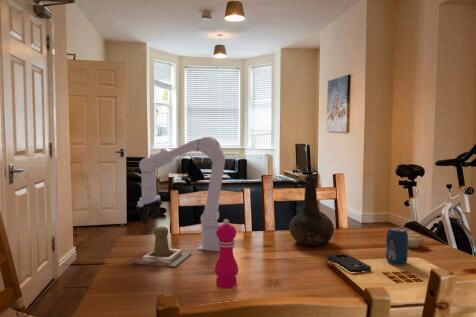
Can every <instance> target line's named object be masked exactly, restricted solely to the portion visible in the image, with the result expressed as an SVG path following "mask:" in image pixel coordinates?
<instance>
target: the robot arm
mask: <svg viewBox="0 0 476 317" xmlns="http://www.w3.org/2000/svg"><path fill="white" fill-rule="evenodd" d="M192 151H193V152H199V151H200V152H201V153H202V154H204V155H205V156H207V157H208V159H209V160H210V161H211V162H212V166H211V171H210V179H209V183H208V190H207V195H206V196H207V197H206V202H205V206H204V209H203V213H202V214H201V215H200V222H201V225H200V230H201V232H200V233H201V234H200V236H201V237H200V240H201V242H200V243H201V244H200V246H199V247H197V250H201V251H212V252H220V246H219V245H218V240H219V238H218V237H217V235H216V231H217V228H218V227H219V226H220V225H221V224H220V222H218V220H219V218H220V210H219V207H220V205H219V202H220V201H219V200H220V196H221V195H220V194H221V189H222V183H223V178H224V171H225V166H226V156H225V154H224V151H223V149H222V147H221V145H220V142H218V140H217V139H216V138H215V137H213V136H204V137H202V138H198V139H193V140H190V141H189V142H187V143H184V144H182V145H180V146H177V147H176V148H173V149H172V150H170V149H169V148H162V149H160V151H159V152H157V153H154V154H149V156H148V157H144V158H142V159H141V160H140V162H139V163H138V166H139V169H140V171H141V197H139V201H137V204H136V205H135V209H136V210H137V212H138V214H139V217H140V221H141V224H145V225H146V224H148V223H149V215H150V216H151V219H152V220H157V219H158V217H159V211H160V209H161V206H162V204H163V201H162V200H161V195H158V194H157V193H158V192H157V169H160V168H162V167H164V166H167V165H170V164H172V163H173V162H174V161H175V160H174V159H175V158H177V157H179V156H182V155H184V154H186V153H190V152H192Z"/></svg>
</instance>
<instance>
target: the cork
mask: <svg viewBox="0 0 476 317" xmlns="http://www.w3.org/2000/svg"><path fill="white" fill-rule="evenodd" d="M169 233H170V232H169V229H168V227H166V226H158V227H155V228H154V230H153V234H154V237H155V238H154V240H155V241H154V248H153V250H154V255H153V256H157V257H167V258H168V257H170V252H169V249H170V247H169V240H168V235H169Z"/></svg>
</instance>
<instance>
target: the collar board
mask: <svg viewBox="0 0 476 317" xmlns="http://www.w3.org/2000/svg"><path fill="white" fill-rule="evenodd" d="M169 252H170V257H168V258H167V257H157V256H153V255H154V249H152V250H150V251H148V252H147V253H145V254H143V255H142V256H141V257H139V258H137V259H135V260H134V261H133V264H134V265H135V264H137V265H145V266H152V267H164V268H174V269H176V268H177V267H178V266H179V265H180V264H181V263H183V262H184V261H185V260H186V259H188V258H189V257H190V256H191V255H192V253H191V252H183V249H177V248H169Z"/></svg>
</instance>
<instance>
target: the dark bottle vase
mask: <svg viewBox="0 0 476 317" xmlns="http://www.w3.org/2000/svg"><path fill="white" fill-rule="evenodd" d="M302 182H303V183H304V198H303V199H304V200H303V206H302V210H301V212H300V213H298V214H296V215H294V216H293V217H292V218H291V220H290V221H289V226H288V227H289V228H288V229H289V233H290V236H291V237H292V238H293V239H294V240H295V242H297V243H298V244H300V245H303V246H307V247H319V246H323V245H325V244H327V243H328V242H330V240H331V239H332V237H333V235H334V231H335V227H334V223H333V222H332V220H331V219H330V217H328V216H327V215H326V214H325V213H323V212H321V211H320V208H319V204H318V195H317V182H318V180H317V176H315V175H305V177H304V179H303V181H302Z"/></svg>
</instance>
